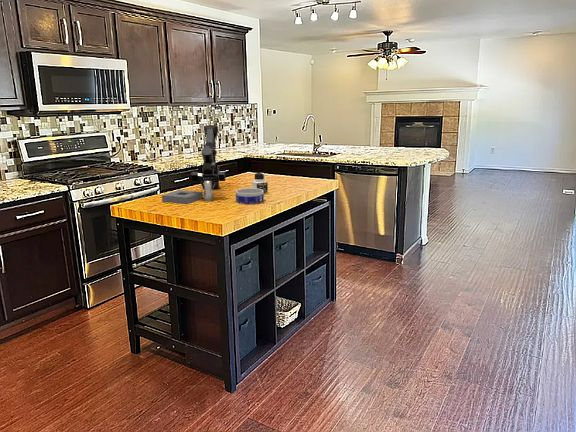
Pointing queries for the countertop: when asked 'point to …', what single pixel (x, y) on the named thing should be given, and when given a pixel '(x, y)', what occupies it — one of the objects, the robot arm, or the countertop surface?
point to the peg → (208, 190)
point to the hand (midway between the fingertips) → (207, 189)
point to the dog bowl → (249, 195)
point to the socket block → (182, 196)
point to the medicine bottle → (260, 182)
